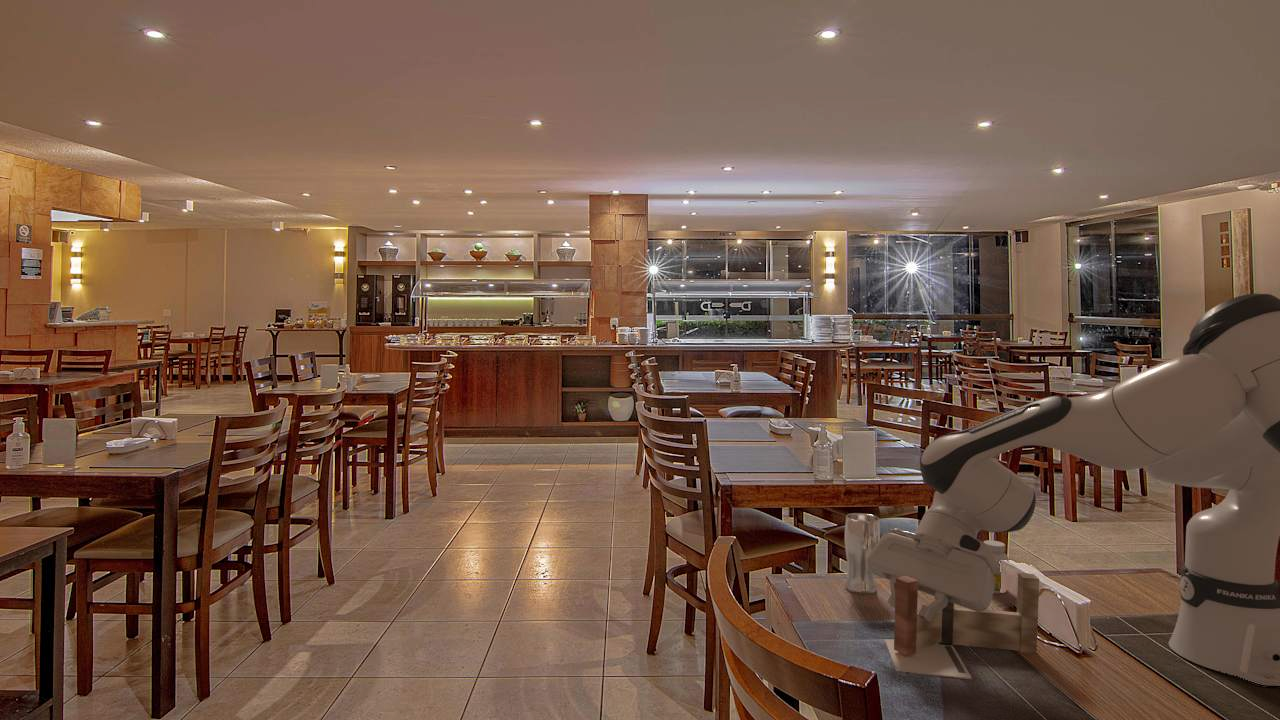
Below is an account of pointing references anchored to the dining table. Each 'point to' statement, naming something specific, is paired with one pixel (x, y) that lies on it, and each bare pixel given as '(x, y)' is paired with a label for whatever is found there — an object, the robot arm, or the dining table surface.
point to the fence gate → (913, 620)
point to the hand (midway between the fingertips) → (908, 612)
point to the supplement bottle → (998, 552)
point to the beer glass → (860, 551)
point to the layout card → (930, 661)
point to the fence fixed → (996, 622)
